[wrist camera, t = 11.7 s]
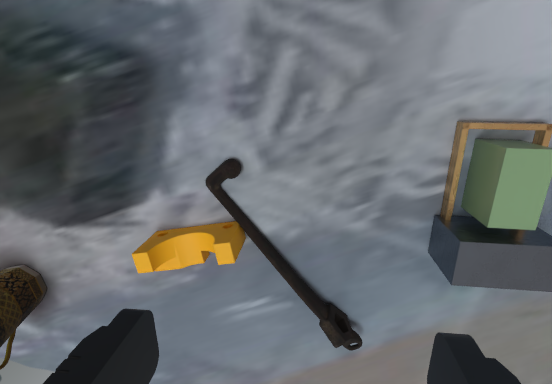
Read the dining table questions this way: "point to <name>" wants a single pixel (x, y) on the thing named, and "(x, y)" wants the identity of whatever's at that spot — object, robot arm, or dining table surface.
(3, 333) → the ceramic cup
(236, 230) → the pipe clamp
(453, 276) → the grey block with frame
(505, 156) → the sage green upright block
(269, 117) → the dining table surface
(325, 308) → the wrench
